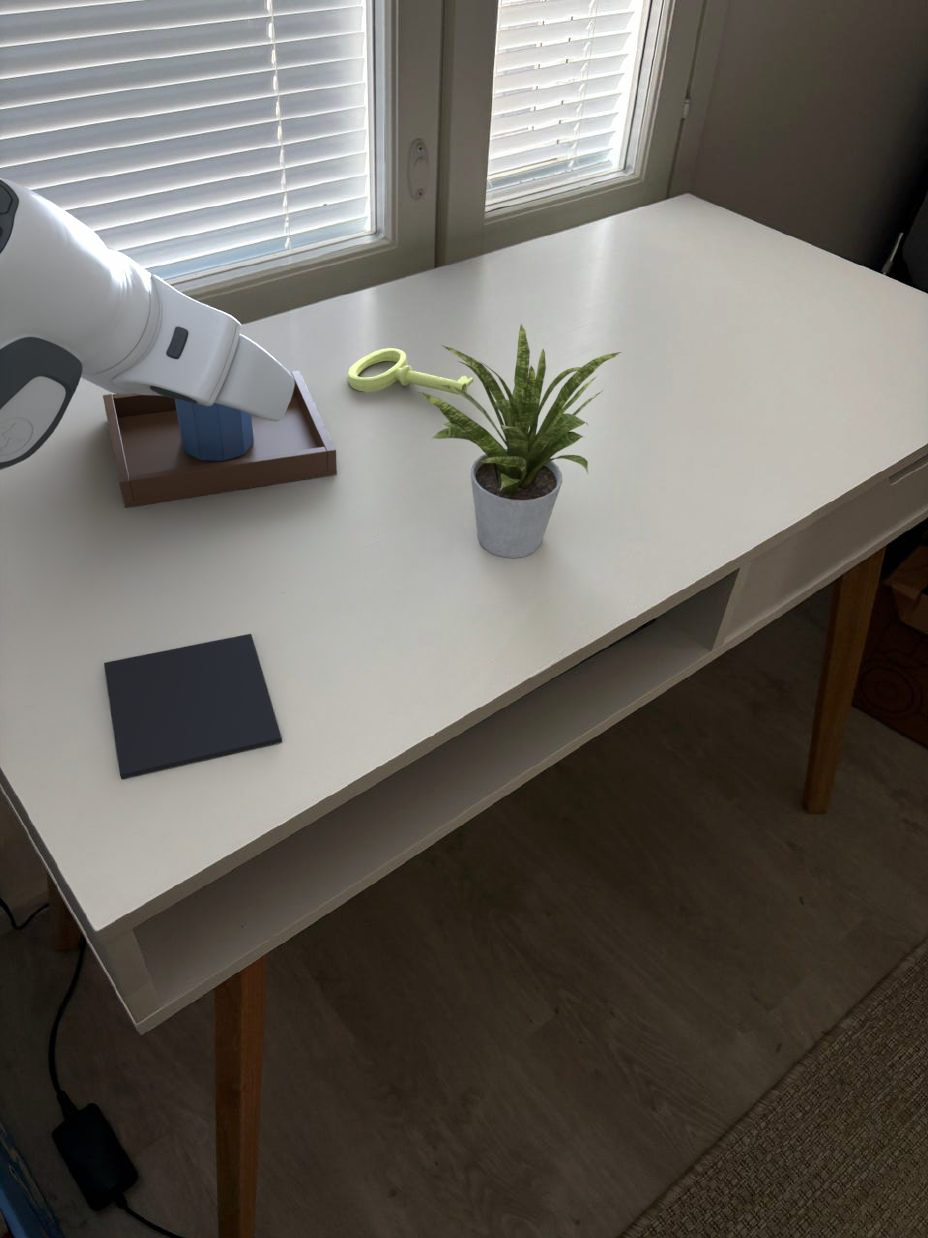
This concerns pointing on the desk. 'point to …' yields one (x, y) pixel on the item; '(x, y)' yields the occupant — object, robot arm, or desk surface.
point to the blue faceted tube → (214, 431)
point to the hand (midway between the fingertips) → (216, 388)
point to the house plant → (518, 450)
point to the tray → (168, 473)
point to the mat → (189, 705)
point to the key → (398, 374)
